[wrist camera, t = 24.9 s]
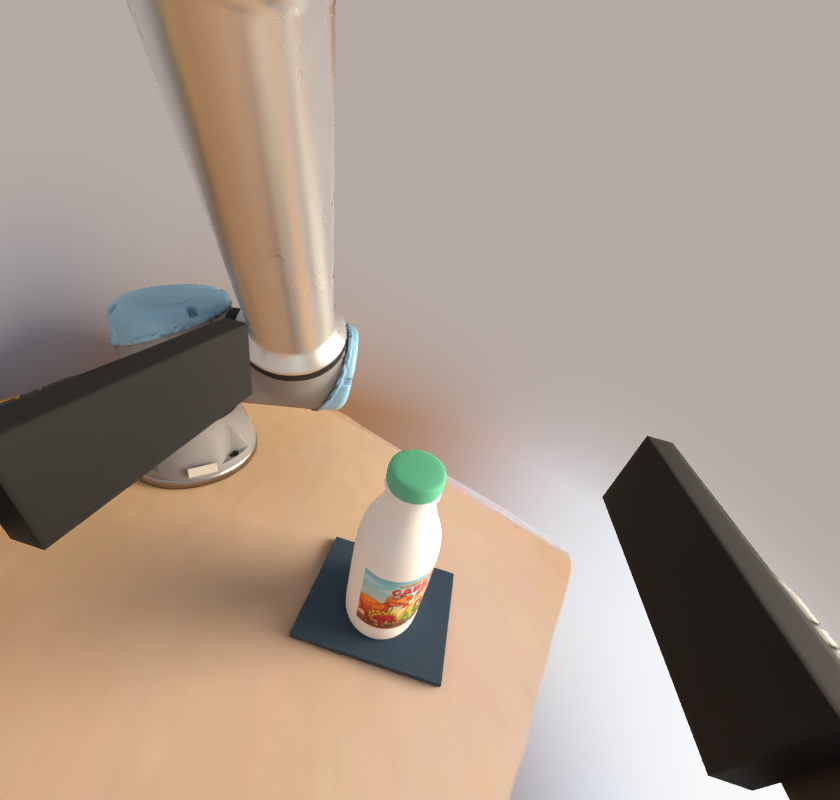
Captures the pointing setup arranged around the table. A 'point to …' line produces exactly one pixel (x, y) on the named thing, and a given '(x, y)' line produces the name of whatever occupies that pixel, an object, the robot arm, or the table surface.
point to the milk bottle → (396, 547)
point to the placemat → (403, 654)
